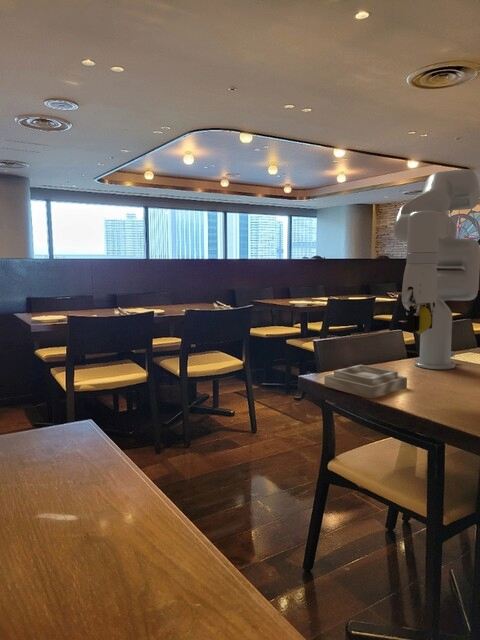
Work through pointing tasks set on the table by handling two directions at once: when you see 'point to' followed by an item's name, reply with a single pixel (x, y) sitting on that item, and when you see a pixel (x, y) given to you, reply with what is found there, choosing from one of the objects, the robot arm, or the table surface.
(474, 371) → the table surface
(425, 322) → the lemon
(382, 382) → the stand
